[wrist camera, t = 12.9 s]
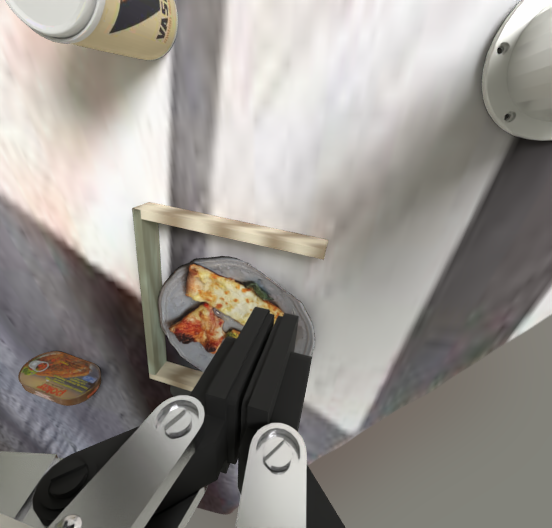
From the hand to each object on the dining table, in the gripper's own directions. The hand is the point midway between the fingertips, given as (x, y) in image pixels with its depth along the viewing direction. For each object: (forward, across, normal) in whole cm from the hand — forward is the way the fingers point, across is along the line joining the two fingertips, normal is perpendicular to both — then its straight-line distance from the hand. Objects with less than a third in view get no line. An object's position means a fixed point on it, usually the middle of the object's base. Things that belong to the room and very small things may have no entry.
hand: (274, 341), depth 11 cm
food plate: (+26, +12, +22) cm, 36 cm away
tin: (+25, +47, +42) cm, 67 cm away
